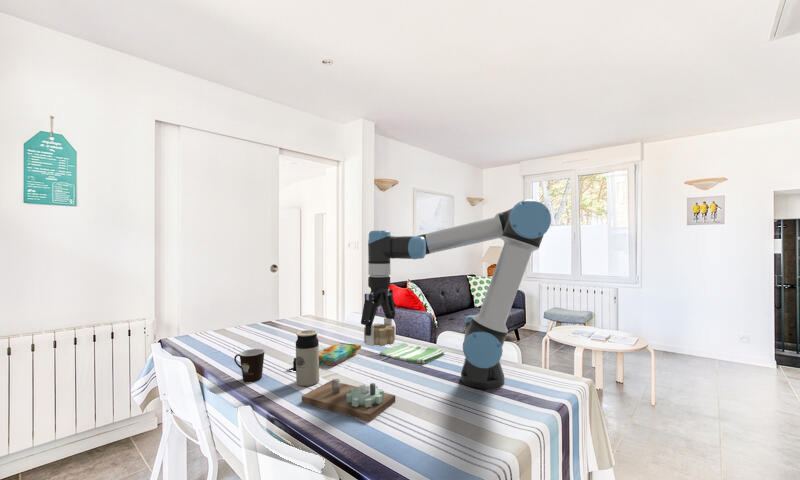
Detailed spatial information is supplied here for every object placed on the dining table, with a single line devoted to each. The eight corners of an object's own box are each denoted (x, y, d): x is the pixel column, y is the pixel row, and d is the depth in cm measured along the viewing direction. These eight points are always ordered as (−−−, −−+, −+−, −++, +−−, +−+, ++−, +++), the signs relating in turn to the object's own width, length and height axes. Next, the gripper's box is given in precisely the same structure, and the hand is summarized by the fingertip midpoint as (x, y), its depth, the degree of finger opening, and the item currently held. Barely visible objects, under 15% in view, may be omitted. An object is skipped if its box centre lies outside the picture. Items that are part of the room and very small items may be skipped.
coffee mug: (269, 378, 133) (268, 351, 133) (246, 385, 127) (245, 357, 127) (254, 371, 141) (254, 345, 141) (232, 377, 135) (232, 351, 135)
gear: (390, 395, 111) (390, 379, 111) (370, 410, 102) (369, 393, 102) (361, 388, 117) (360, 373, 117) (339, 402, 107) (338, 385, 107)
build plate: (294, 375, 137) (293, 363, 137) (281, 372, 141) (280, 360, 141) (317, 365, 148) (317, 354, 148) (304, 362, 152) (304, 352, 152)
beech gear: (400, 340, 124) (400, 325, 124) (383, 347, 115) (383, 332, 115) (375, 336, 129) (375, 322, 129) (358, 343, 120) (358, 328, 120)
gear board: (395, 401, 112) (395, 382, 112) (370, 421, 100) (369, 400, 100) (331, 386, 125) (330, 369, 125) (301, 402, 113) (301, 383, 113)
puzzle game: (311, 352, 149) (339, 340, 167) (311, 364, 149) (339, 350, 167) (334, 356, 144) (361, 343, 162) (334, 367, 144) (361, 353, 162)
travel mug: (311, 376, 135) (311, 328, 135) (323, 382, 129) (322, 332, 129) (292, 382, 129) (291, 332, 129) (303, 388, 123) (302, 336, 124)
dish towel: (404, 346, 173) (403, 340, 173) (445, 355, 158) (445, 349, 158) (379, 356, 159) (379, 349, 159) (423, 366, 144) (422, 360, 144)
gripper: (388, 272, 134) (387, 332, 134) (349, 278, 114) (349, 347, 114) (405, 273, 130) (405, 334, 130) (368, 279, 110) (368, 351, 110)
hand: (379, 340), depth 122 cm, fingers closed on beech gear, 10 cm apart
